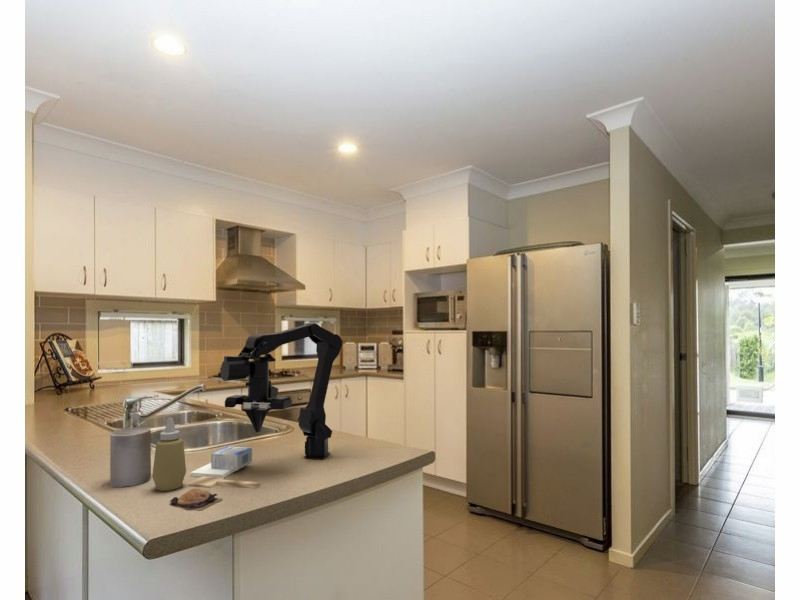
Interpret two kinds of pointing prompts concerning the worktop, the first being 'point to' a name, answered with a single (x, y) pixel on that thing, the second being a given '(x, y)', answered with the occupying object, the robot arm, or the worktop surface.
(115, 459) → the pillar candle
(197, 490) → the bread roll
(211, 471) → the mat
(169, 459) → the squeeze bottle
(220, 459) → the medicine box
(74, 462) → the worktop surface
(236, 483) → the wooden turner
